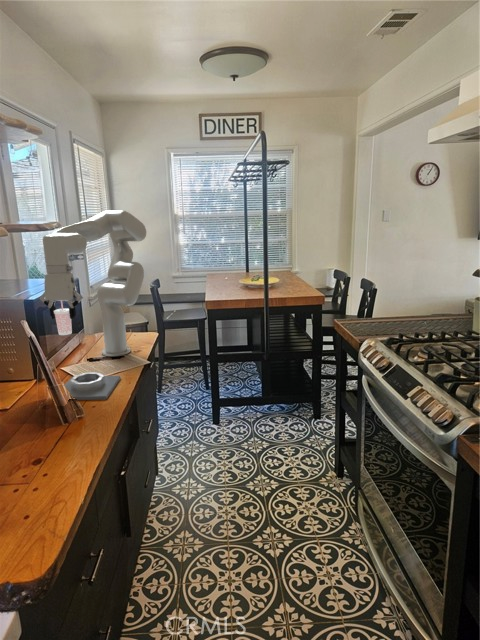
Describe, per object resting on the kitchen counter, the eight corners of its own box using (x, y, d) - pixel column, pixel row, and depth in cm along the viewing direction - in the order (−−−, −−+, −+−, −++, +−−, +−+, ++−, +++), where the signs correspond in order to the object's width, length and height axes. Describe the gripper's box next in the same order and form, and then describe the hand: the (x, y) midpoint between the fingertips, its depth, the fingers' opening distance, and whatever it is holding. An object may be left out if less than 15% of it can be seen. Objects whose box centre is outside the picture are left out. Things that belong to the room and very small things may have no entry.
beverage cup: (54, 336, 150) (49, 298, 146) (59, 331, 155) (54, 295, 152) (71, 335, 150) (67, 298, 147) (75, 330, 156) (71, 294, 153)
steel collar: (78, 380, 151) (78, 372, 150) (107, 379, 151) (106, 372, 150) (67, 392, 141) (66, 384, 140) (98, 391, 141) (97, 383, 140)
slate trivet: (72, 379, 155) (72, 376, 154) (120, 378, 155) (120, 375, 155) (52, 400, 137) (52, 397, 137) (106, 399, 138) (106, 396, 137)
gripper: (85, 268, 151) (90, 315, 155) (38, 268, 151) (45, 315, 155) (77, 270, 143) (83, 320, 148) (28, 271, 143) (35, 320, 148)
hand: (63, 317), depth 151 cm, fingers closed on beverage cup, 6 cm apart
